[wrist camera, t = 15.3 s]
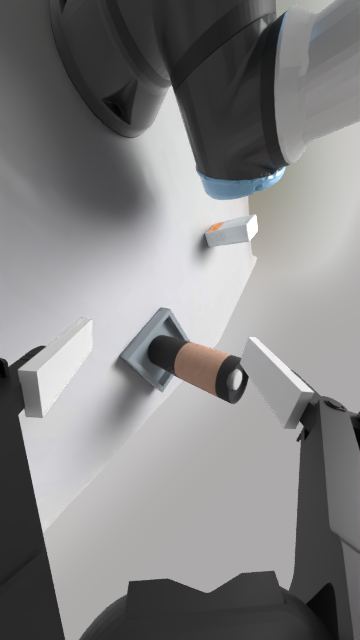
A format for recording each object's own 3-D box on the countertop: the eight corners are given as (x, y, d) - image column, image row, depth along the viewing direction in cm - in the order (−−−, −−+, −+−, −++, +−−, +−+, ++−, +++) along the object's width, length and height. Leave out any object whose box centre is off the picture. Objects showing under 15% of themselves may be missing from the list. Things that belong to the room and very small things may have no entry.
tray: (160, 307, 42) (169, 308, 40) (184, 343, 51) (192, 346, 49) (119, 355, 36) (127, 360, 34) (154, 387, 44) (162, 392, 42)
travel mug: (173, 354, 47) (250, 384, 33) (151, 371, 42) (230, 415, 29) (167, 328, 44) (249, 350, 30) (142, 343, 39) (227, 378, 25)
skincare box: (214, 223, 52) (256, 213, 44) (218, 237, 55) (258, 230, 47) (203, 233, 49) (246, 224, 41) (208, 247, 52) (249, 242, 44)
